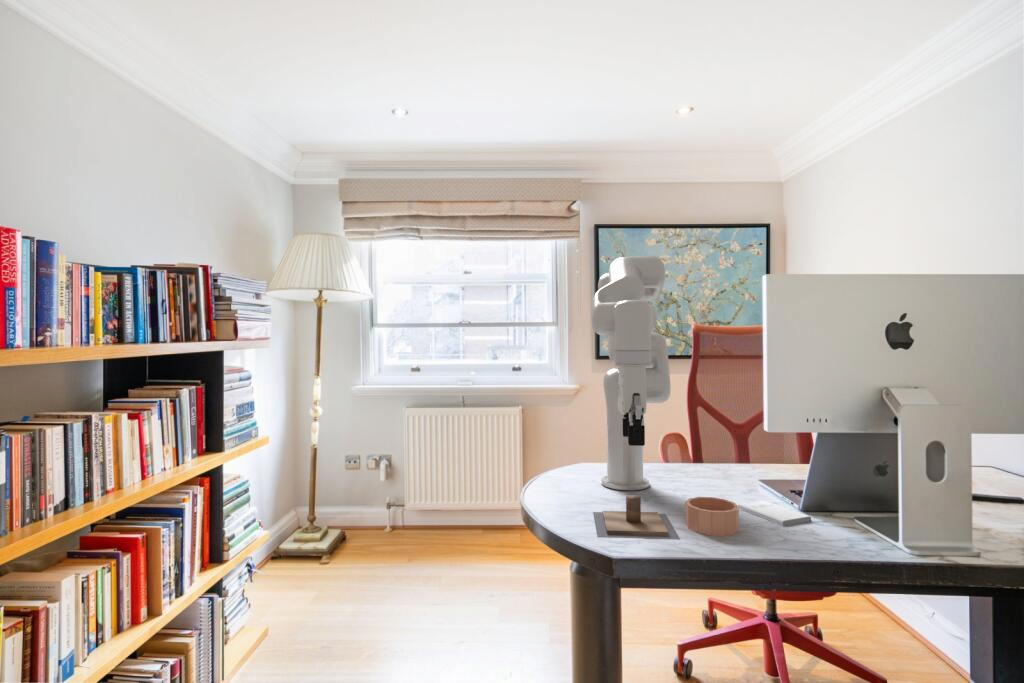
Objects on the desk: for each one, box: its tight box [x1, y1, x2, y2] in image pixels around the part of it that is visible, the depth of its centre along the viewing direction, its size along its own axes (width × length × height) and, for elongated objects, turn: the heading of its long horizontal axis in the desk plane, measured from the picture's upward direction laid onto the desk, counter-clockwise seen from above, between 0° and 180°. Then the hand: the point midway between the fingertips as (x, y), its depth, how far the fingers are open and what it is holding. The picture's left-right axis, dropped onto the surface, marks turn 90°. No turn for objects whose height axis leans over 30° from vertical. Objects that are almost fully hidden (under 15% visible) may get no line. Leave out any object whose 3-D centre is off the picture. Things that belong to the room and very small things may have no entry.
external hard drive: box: [737, 499, 812, 527], centre depth 118 cm, size 2×8×12 cm
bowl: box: [685, 496, 740, 537], centre depth 110 cm, size 10×10×5 cm
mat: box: [592, 511, 681, 540], centre depth 111 cm, size 15×16×1 cm
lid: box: [602, 494, 668, 536], centre depth 111 cm, size 12×12×6 cm
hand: (633, 440), depth 111 cm, fingers open, 9 cm apart
